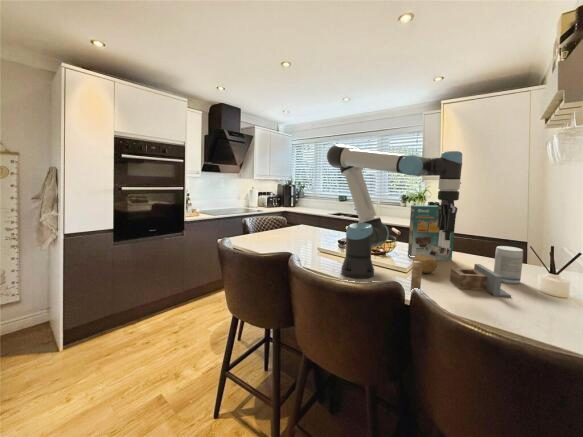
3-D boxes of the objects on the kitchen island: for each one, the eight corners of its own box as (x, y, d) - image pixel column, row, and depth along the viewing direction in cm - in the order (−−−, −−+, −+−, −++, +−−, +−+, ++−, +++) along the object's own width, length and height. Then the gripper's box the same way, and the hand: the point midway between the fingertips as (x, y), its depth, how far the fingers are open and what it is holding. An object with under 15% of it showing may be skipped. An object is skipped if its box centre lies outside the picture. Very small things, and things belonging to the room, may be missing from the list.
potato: (425, 267, 140) (426, 252, 139) (441, 276, 126) (443, 260, 125) (406, 267, 140) (408, 252, 138) (421, 276, 126) (422, 260, 125)
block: (459, 289, 112) (460, 274, 111) (449, 281, 120) (451, 268, 120) (485, 290, 110) (487, 276, 109) (474, 282, 119) (475, 269, 118)
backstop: (493, 296, 105) (495, 276, 104) (472, 281, 120) (474, 263, 119) (510, 297, 104) (513, 277, 103) (487, 282, 120) (489, 264, 118)
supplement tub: (525, 283, 119) (530, 250, 116) (508, 285, 116) (512, 251, 114) (503, 275, 128) (507, 245, 126) (487, 277, 126) (490, 246, 124)
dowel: (411, 292, 108) (414, 263, 106) (409, 289, 111) (411, 260, 109) (421, 293, 107) (423, 263, 105) (418, 289, 110) (420, 261, 109)
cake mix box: (446, 257, 159) (451, 205, 155) (451, 260, 153) (456, 206, 149) (407, 256, 161) (411, 205, 157) (411, 258, 155) (414, 206, 151)
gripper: (468, 191, 103) (462, 251, 106) (450, 189, 119) (445, 242, 122) (446, 190, 104) (441, 250, 107) (431, 189, 120) (427, 241, 123)
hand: (443, 246), depth 115 cm, fingers open, 3 cm apart
